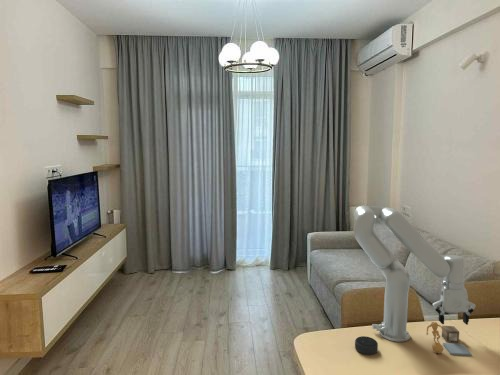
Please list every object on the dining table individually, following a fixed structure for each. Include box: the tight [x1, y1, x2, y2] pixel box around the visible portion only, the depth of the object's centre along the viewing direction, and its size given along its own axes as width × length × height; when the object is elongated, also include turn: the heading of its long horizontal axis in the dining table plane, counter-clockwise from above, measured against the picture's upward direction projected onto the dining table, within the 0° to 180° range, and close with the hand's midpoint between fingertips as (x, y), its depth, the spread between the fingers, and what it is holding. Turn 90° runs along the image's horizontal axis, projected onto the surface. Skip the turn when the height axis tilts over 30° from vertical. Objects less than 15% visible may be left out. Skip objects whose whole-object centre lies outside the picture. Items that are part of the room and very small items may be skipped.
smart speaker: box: [354, 336, 379, 356], centre depth 152 cm, size 9×9×4 cm
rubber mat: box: [442, 342, 473, 357], centre depth 152 cm, size 8×8×1 cm
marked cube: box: [441, 325, 460, 344], centre depth 160 cm, size 5×5×5 cm
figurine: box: [426, 321, 445, 354], centre depth 150 cm, size 8×6×12 cm
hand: (453, 323), depth 160 cm, fingers open, 9 cm apart
